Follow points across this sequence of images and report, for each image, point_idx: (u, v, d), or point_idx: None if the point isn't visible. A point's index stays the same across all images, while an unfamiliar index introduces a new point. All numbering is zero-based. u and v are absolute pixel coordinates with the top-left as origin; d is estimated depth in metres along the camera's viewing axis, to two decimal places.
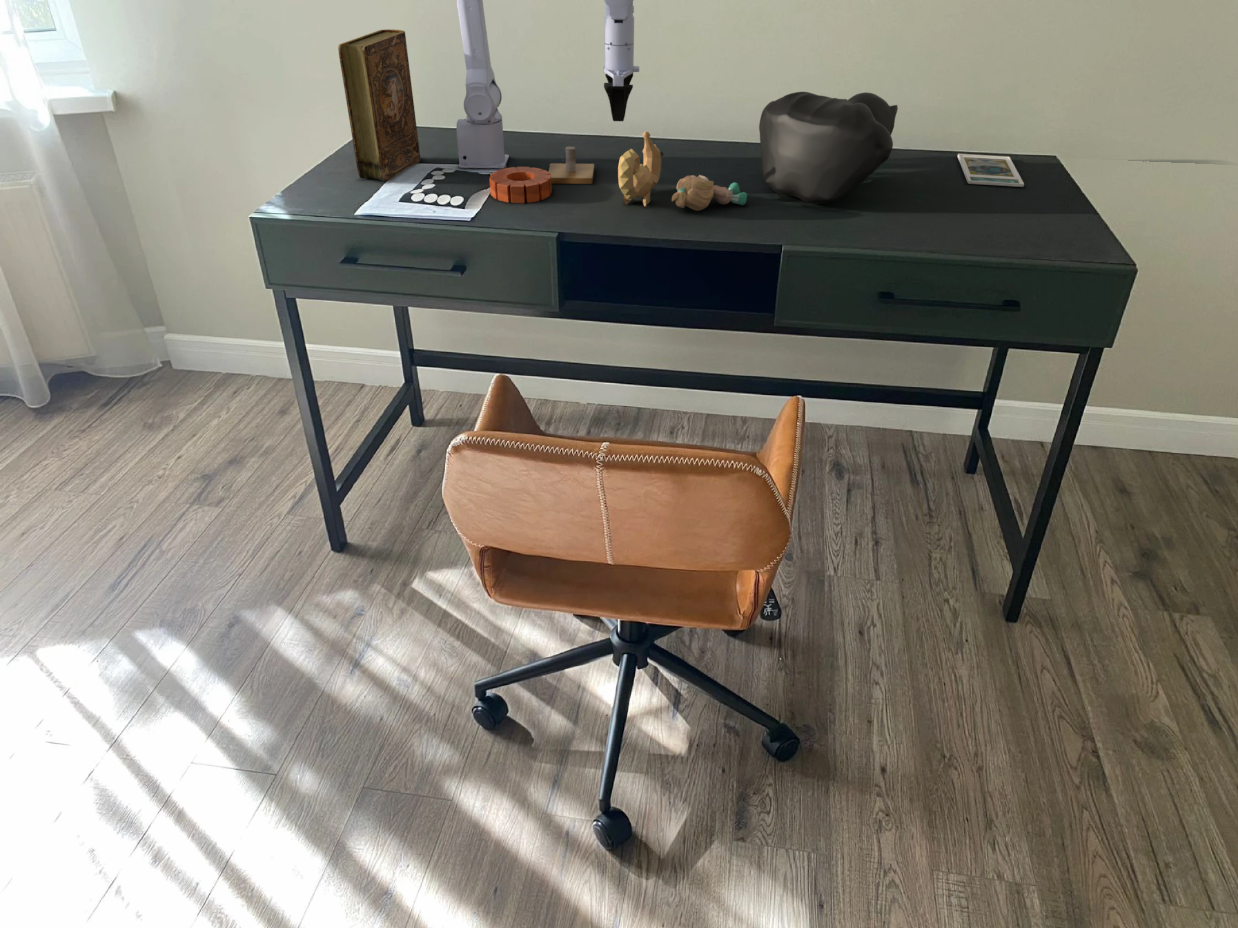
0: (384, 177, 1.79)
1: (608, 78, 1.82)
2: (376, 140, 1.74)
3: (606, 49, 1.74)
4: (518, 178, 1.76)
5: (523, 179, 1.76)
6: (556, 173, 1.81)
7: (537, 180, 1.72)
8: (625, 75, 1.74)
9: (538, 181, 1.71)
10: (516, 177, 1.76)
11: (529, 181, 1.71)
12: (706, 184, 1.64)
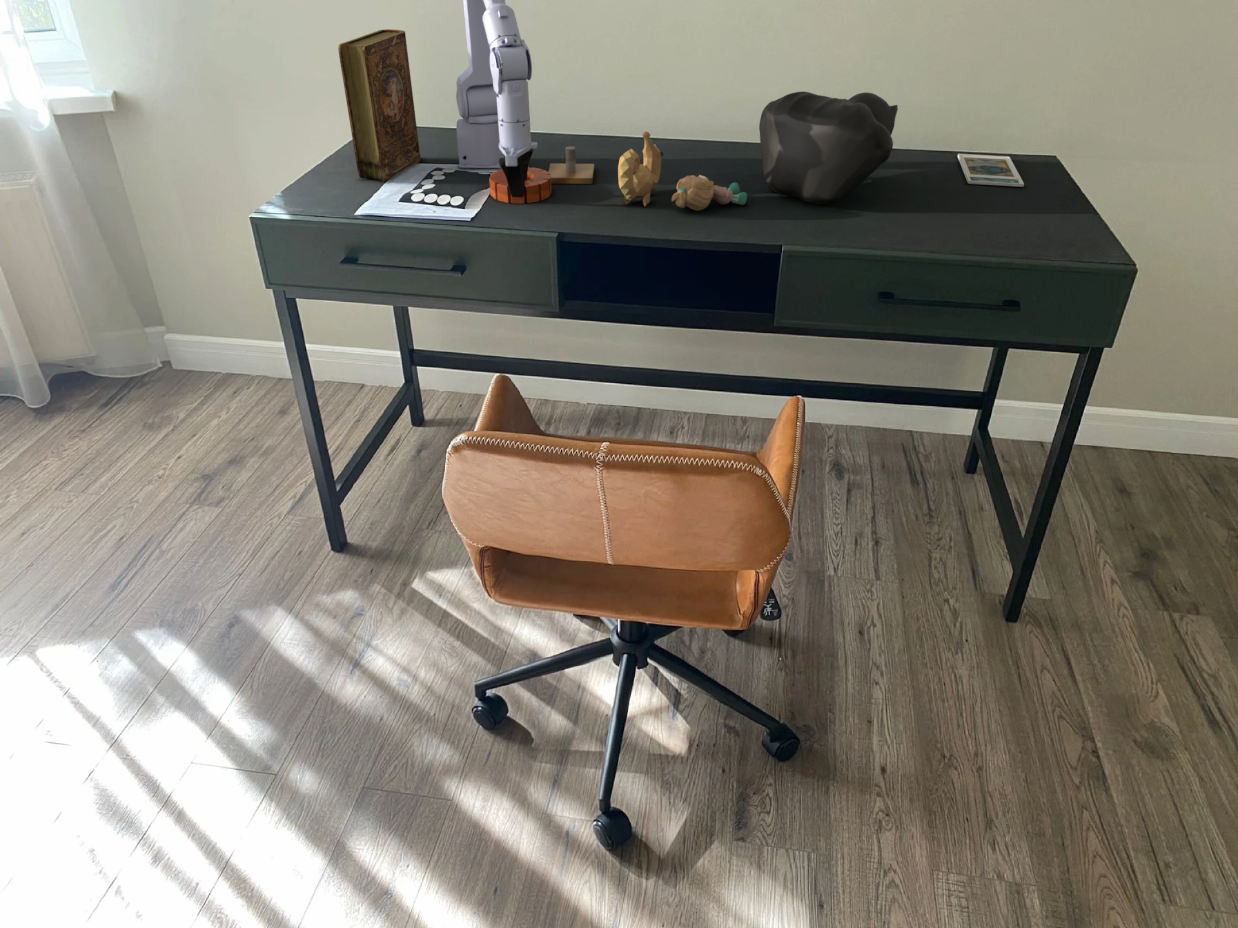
0: (384, 177, 1.79)
1: None
2: (376, 140, 1.74)
3: (499, 125, 1.62)
4: None
5: None
6: (556, 173, 1.81)
7: (537, 180, 1.71)
8: (519, 154, 1.61)
9: (538, 181, 1.71)
10: None
11: (529, 182, 1.71)
12: (706, 184, 1.64)
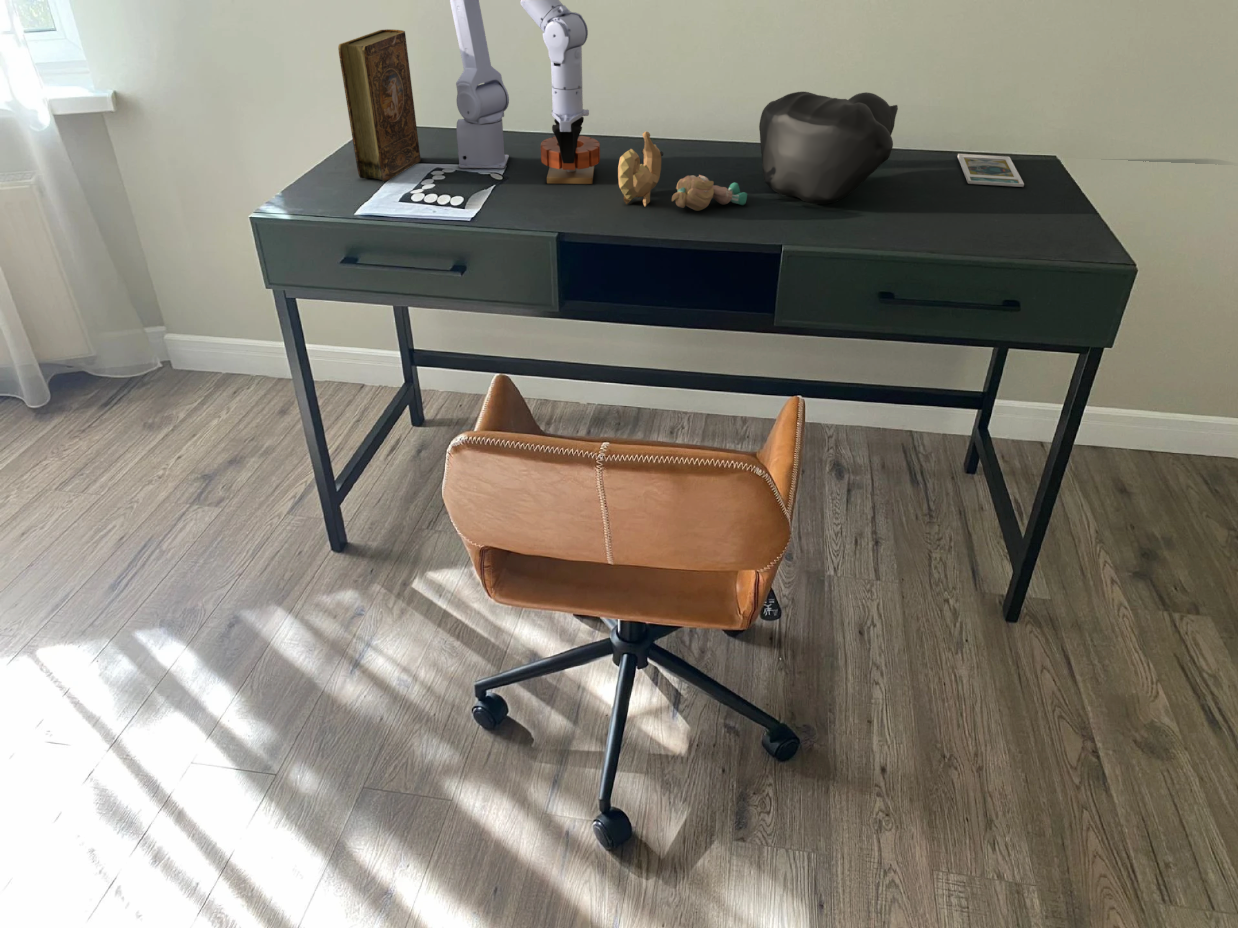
0: (384, 177, 1.79)
1: (557, 123, 1.75)
2: (376, 140, 1.74)
3: (553, 93, 1.68)
4: None
5: None
6: (556, 173, 1.81)
7: (587, 147, 1.77)
8: (573, 120, 1.67)
9: (588, 148, 1.77)
10: None
11: (580, 149, 1.77)
12: (706, 184, 1.64)
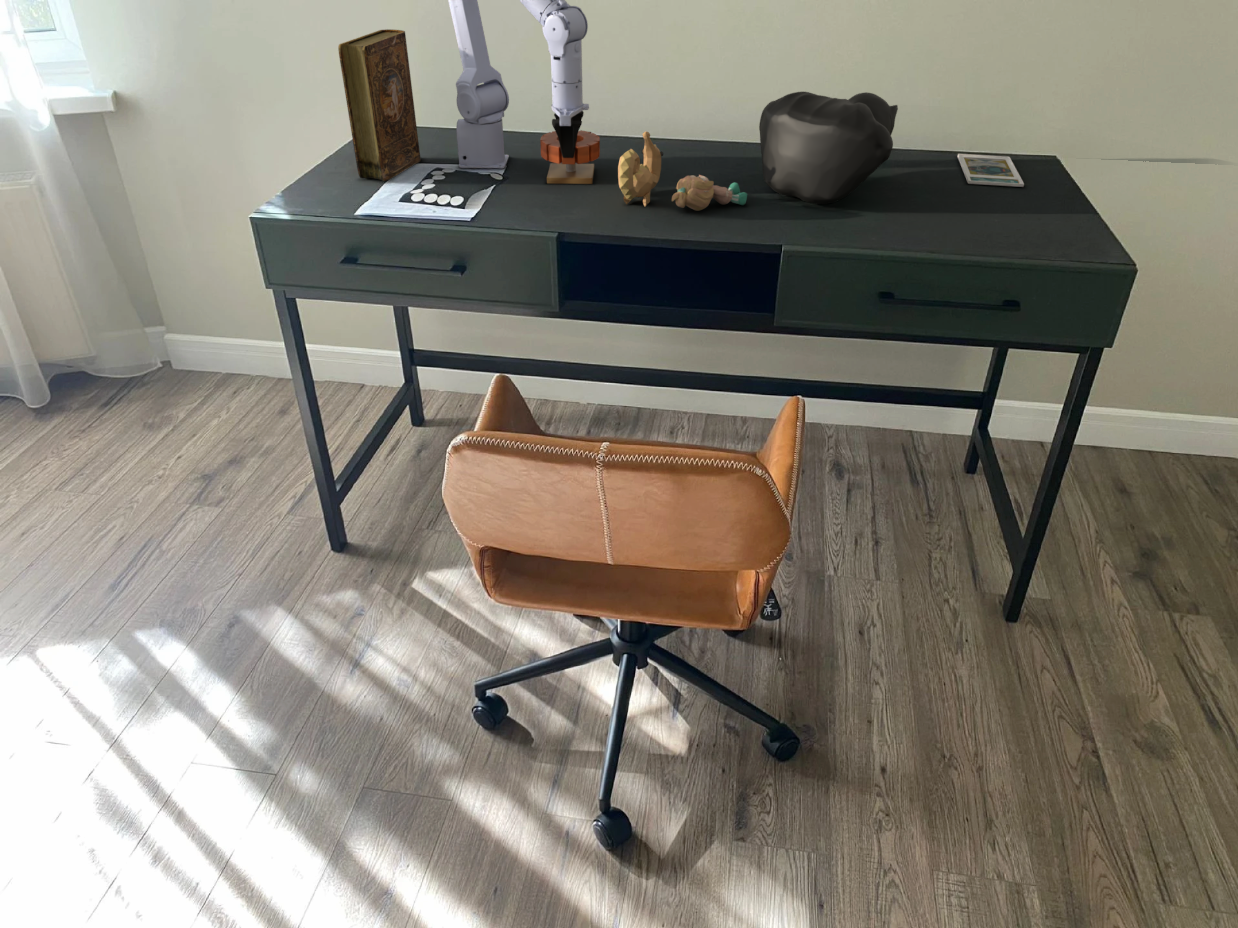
0: (384, 177, 1.79)
1: (557, 118, 1.74)
2: (376, 140, 1.74)
3: (553, 87, 1.68)
4: None
5: None
6: (556, 173, 1.81)
7: (587, 142, 1.77)
8: (573, 114, 1.67)
9: (588, 143, 1.76)
10: None
11: (580, 143, 1.76)
12: (706, 184, 1.64)
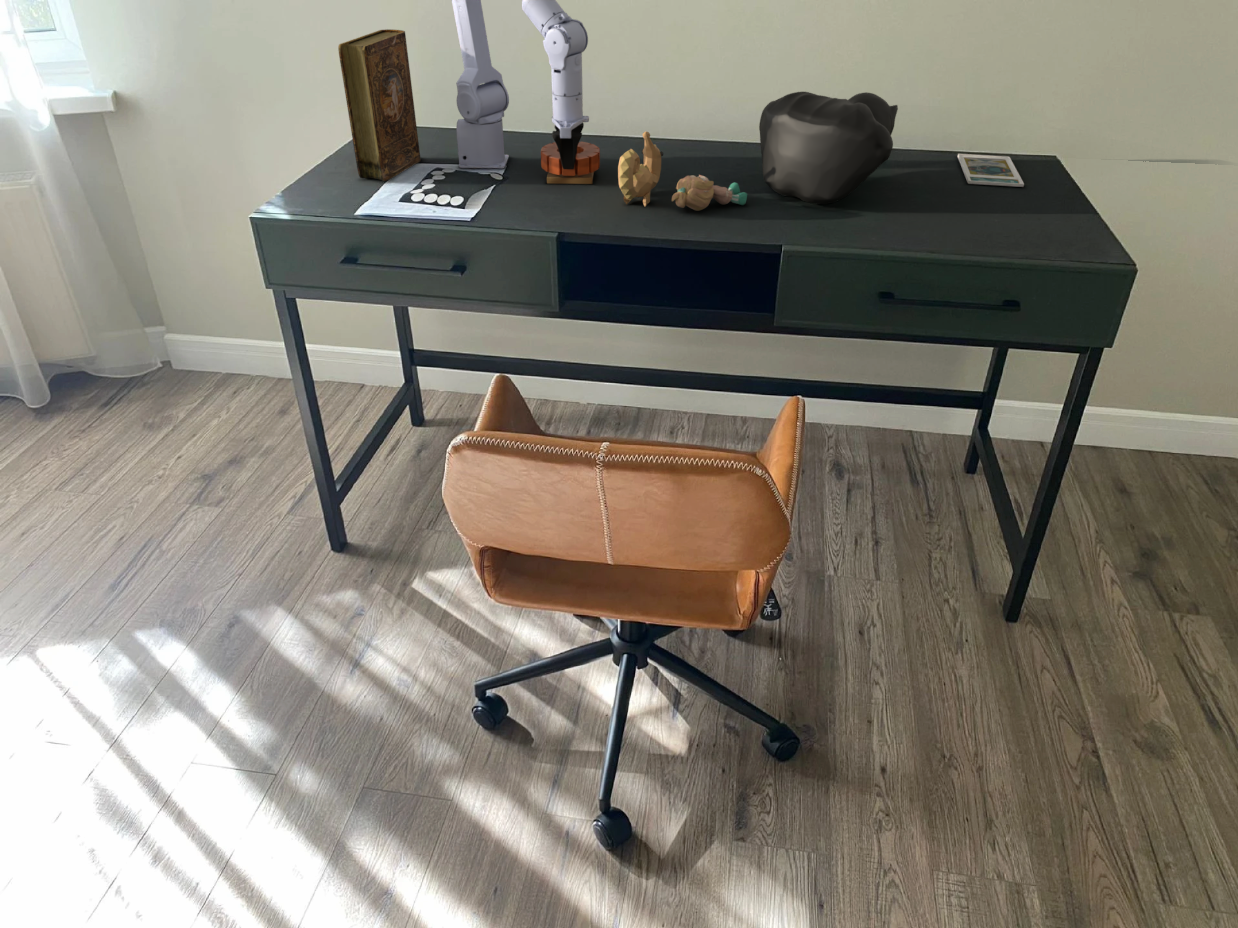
0: (384, 177, 1.79)
1: (557, 129, 1.76)
2: (376, 140, 1.74)
3: (553, 99, 1.69)
4: None
5: None
6: None
7: (587, 153, 1.78)
8: (573, 126, 1.68)
9: (588, 154, 1.77)
10: None
11: (580, 155, 1.77)
12: (706, 184, 1.64)
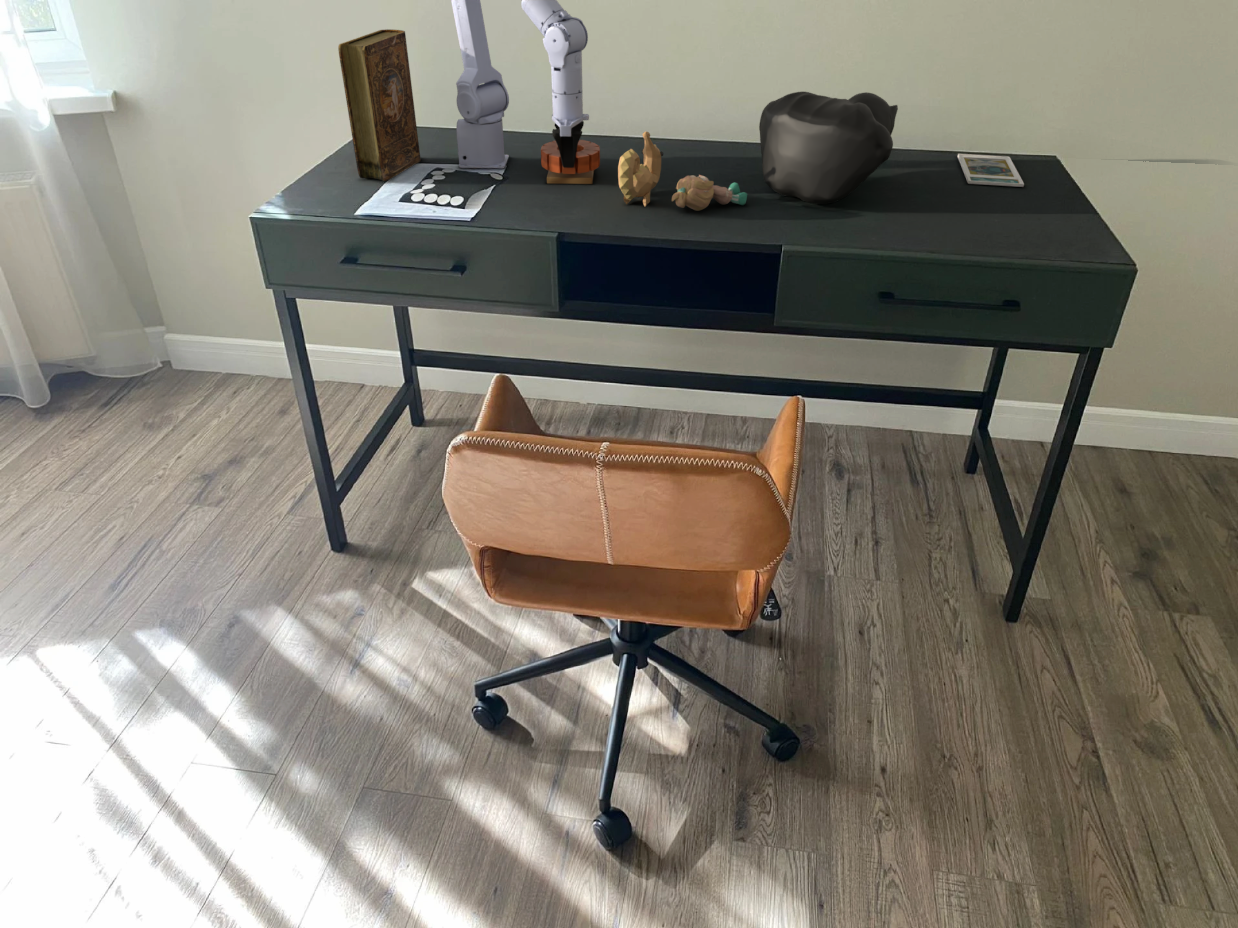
0: (384, 177, 1.79)
1: (557, 128, 1.75)
2: (376, 140, 1.74)
3: (553, 97, 1.69)
4: None
5: None
6: (556, 173, 1.81)
7: (587, 151, 1.78)
8: (573, 124, 1.68)
9: (588, 153, 1.77)
10: None
11: (580, 153, 1.77)
12: (706, 184, 1.64)
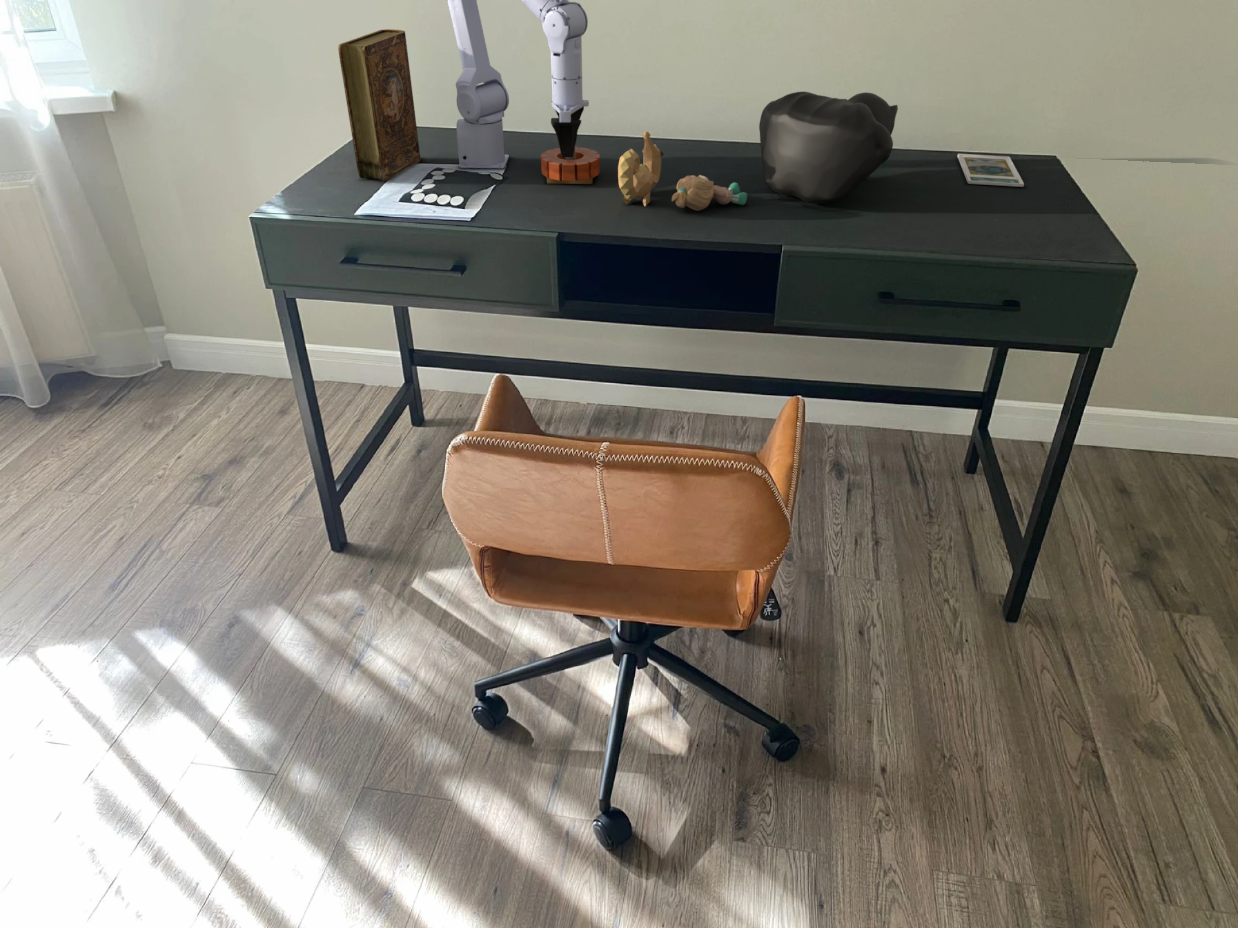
0: (384, 177, 1.79)
1: (558, 112, 1.75)
2: (376, 140, 1.74)
3: (553, 83, 1.67)
4: None
5: None
6: None
7: (587, 159, 1.78)
8: (572, 110, 1.66)
9: (588, 160, 1.77)
10: None
11: (580, 160, 1.77)
12: (706, 184, 1.64)
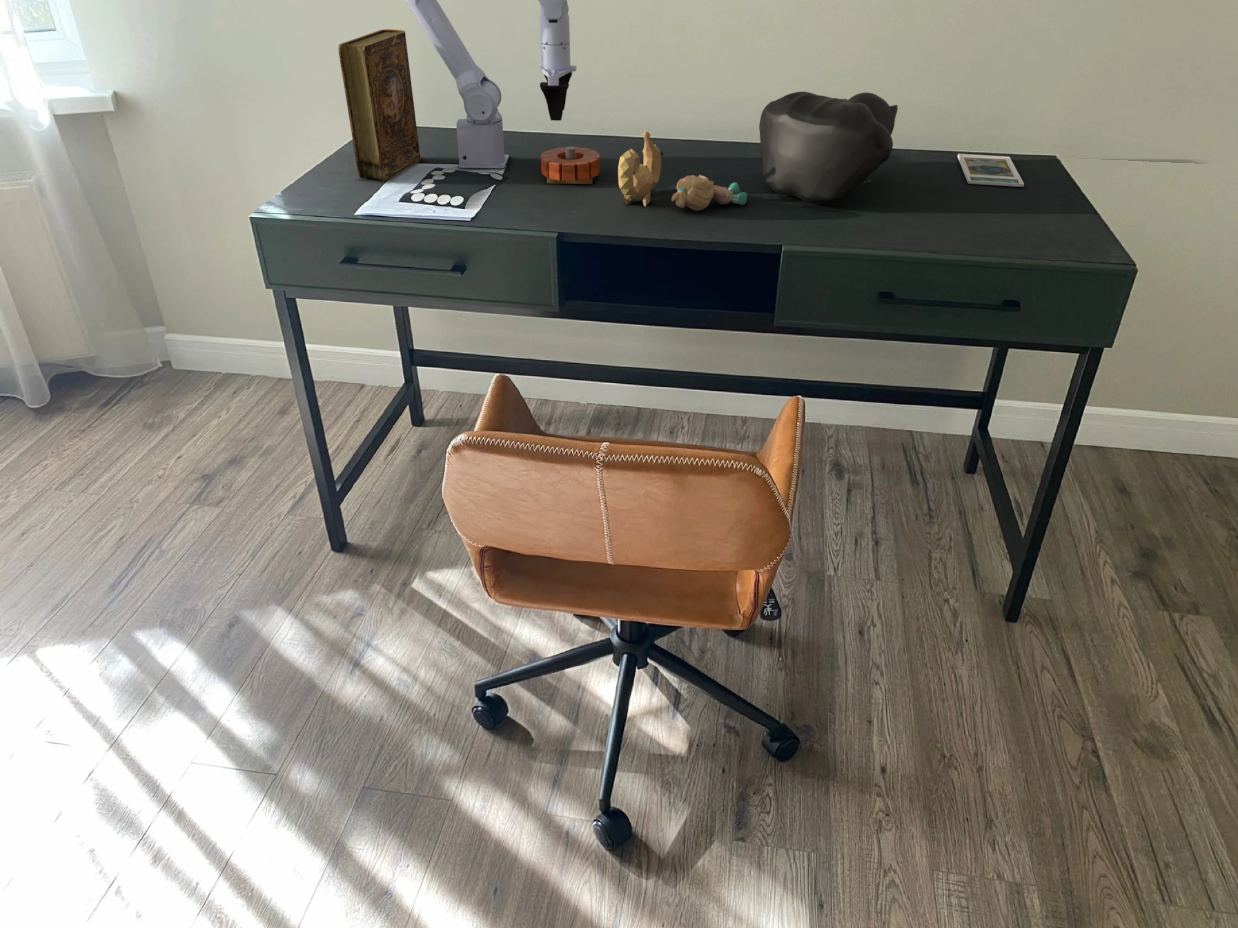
0: (384, 177, 1.79)
1: (547, 77, 1.83)
2: (376, 140, 1.74)
3: (542, 49, 1.75)
4: None
5: None
6: None
7: (587, 159, 1.78)
8: (560, 74, 1.74)
9: (588, 160, 1.77)
10: None
11: (580, 160, 1.77)
12: (706, 184, 1.64)
